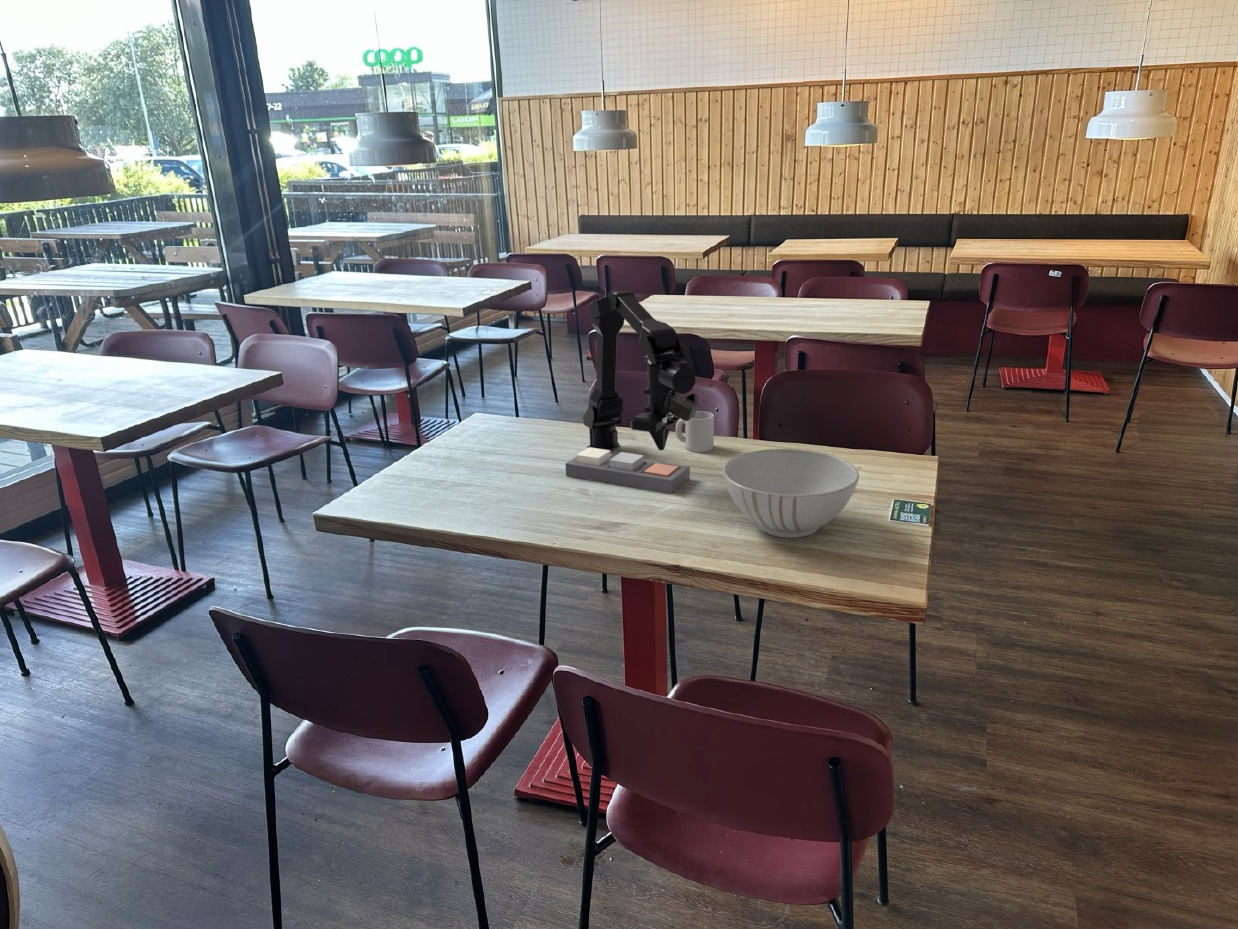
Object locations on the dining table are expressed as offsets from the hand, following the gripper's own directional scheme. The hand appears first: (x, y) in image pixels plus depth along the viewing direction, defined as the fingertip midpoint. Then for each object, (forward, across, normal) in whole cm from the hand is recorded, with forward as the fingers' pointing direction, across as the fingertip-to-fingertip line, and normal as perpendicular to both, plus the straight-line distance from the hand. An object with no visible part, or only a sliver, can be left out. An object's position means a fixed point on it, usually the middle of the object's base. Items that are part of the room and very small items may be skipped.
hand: (661, 449), depth 201 cm
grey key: (+6, 0, +9) cm, 11 cm away
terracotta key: (+7, 0, 0) cm, 7 cm away
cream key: (+6, 0, +18) cm, 19 cm away
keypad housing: (+8, 0, +9) cm, 12 cm away
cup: (+8, +26, +3) cm, 28 cm away
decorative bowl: (+9, -11, -34) cm, 37 cm away
